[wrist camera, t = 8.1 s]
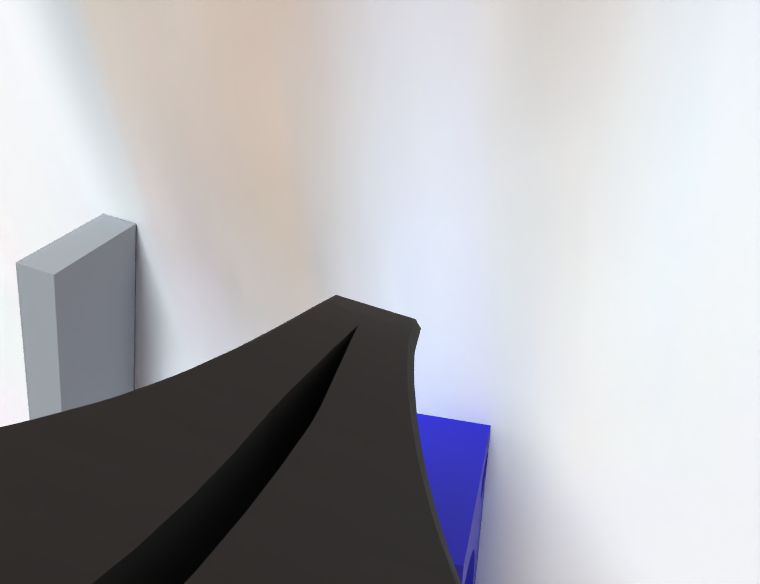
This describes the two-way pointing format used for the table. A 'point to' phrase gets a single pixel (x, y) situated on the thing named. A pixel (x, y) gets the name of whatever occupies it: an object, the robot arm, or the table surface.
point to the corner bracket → (79, 317)
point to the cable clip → (457, 484)
